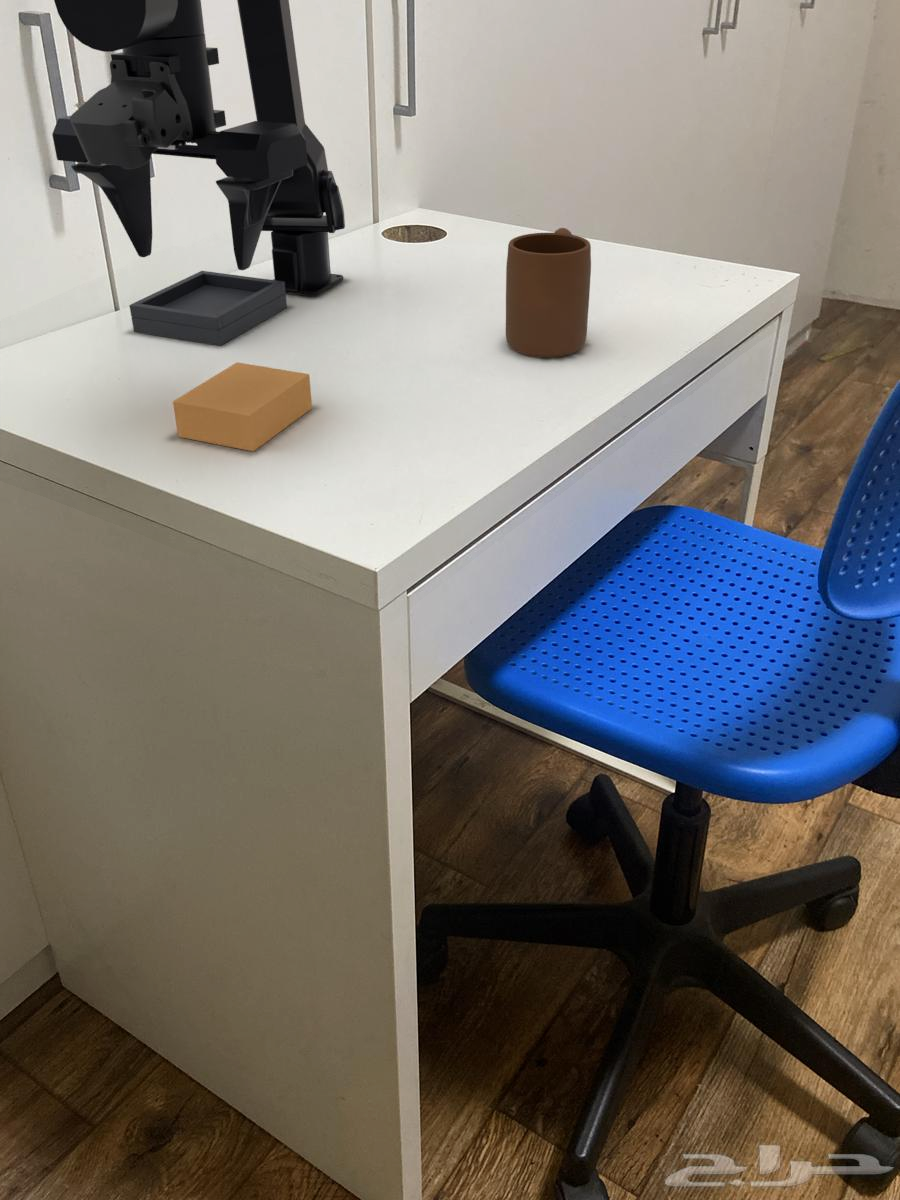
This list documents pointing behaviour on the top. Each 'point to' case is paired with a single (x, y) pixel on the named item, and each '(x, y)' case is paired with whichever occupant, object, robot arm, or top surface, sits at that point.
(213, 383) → the foam pad
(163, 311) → the dark gray tray
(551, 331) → the mug
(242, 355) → the top surface
